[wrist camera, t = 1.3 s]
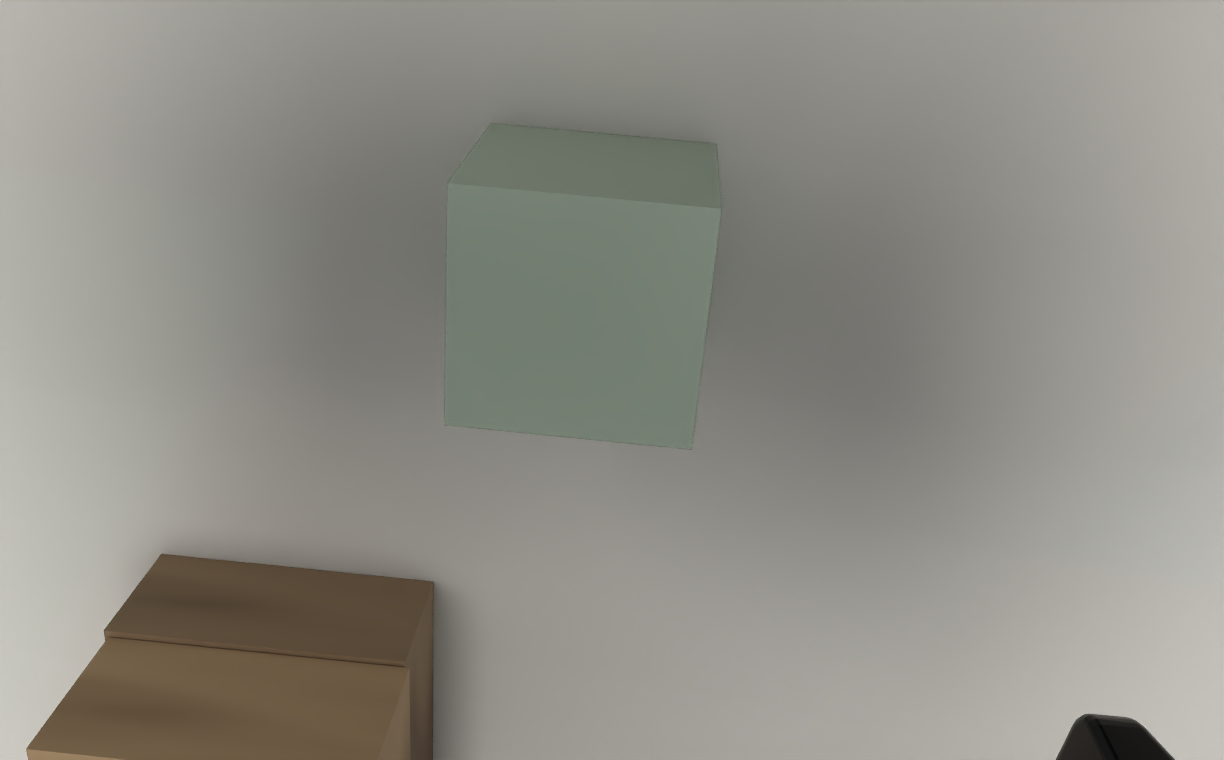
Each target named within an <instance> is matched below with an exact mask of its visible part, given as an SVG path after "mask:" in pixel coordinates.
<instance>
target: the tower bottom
mask: <svg viewBox="0 0 1224 760" xmlns="http://www.w3.org/2000/svg"><path fill="white" fill-rule="evenodd" d="M433 596H434V582H431V581H422V580H412V579H402V578H392V577H382V576H373V575H363V574H353V573H343V572H333V571H324V570H314V569H304V568H294V567H284V566H275V565H265V564H255V563H245V562H235V561H226V560H216V559H206V558H196V557H186V556H176V555H167V554H161V555H160V557H159V558H158V559H157V561H156V562H155V563H154V565H153V566H152V567H151V569H150V570H149V571H148V573H147V574H146V575H145V577H144V578H143V579H142V581H141V582H140V583H139V585H138V586H137V587H136V589H135V590H134V591H133V592H132V594H131V595H130V596H129V598H128V599H127V600H126V602H125V603H124V604H123V606H122V607H121V608H120V610H119V611H118V612H117V614H116V615H115V616H114V618H113V619H112V620H111V622H110V623H109V624H108V626H107V627H106V628H105V630H104V635H105V641H106V640H107V639H108V637H111V638H121V639H131V640H140V641H150V642H160V643H170V644H180V645H189V646H199V647H209V648H219V649H229V650H238V651H248V652H258V653H268V654H278V655H287V656H297V657H307V658H317V659H327V660H336V661H346V662H356V663H366V664H376V665H385V666H395V667H405V668H409V680H410V755H411V760H433Z"/></svg>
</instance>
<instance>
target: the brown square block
mask: <svg viewBox="0 0 1224 760" xmlns="http://www.w3.org/2000/svg"><path fill="white" fill-rule="evenodd" d="M26 751H27V756H28V760H411V755H410V680H409V668H405V667H395V666H385V665H376V664H366V663H356V662H346V661H336V660H327V659H317V658H307V657H297V656H287V655H278V654H268V653H258V652H248V651H238V650H229V649H219V648H209V647H199V646H189V645H180V644H170V643H160V642H150V641H140V640H131V639H121V638H111V637H108V639H107V640H106V641H105V643H104V644H103V645H102V647H101V648H100V649H99V651H98V652H97V654H96V655H95V656H94V658H93V659H92V660H91V662H90V663H89V664H88V666H87V667H86V668H85V670H84V671H83V673H82V674H81V675H80V677H79V678H78V679H77V681H76V682H75V683H74V685H73V686H72V687H71V689H70V690H69V692H68V693H67V694H66V696H65V697H64V698H63V700H62V701H61V702H60V704H59V705H58V706H57V708H56V709H55V711H54V712H53V713H52V715H51V716H50V717H49V719H48V720H47V721H46V723H45V724H44V725H43V727H42V728H41V730H40V731H39V732H38V734H37V735H36V736H35V738H34V739H33V740H32V742H31V743H30V744H29V746H28V747H27V749H26Z"/></svg>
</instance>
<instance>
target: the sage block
mask: <svg viewBox="0 0 1224 760" xmlns="http://www.w3.org/2000/svg"><path fill="white" fill-rule="evenodd" d="M721 210H722V207H721V194H720V182H719V169H718V156H717V144H712V143H701V142H690V141H679V140H669V139H658V138H647V137H636V136H625V135H614V134H604V133H593V132H582V131H571V130H560V129H550V128H539V127H528V126H517V125H506V124H495V123H491V124H490V126H489V127H488V128H487V130H486V131H485V132H484V134H483V135H482V136H481V138H480V139H479V141H478V142H477V143H476V145H475V146H474V147H473V149H472V150H471V151H470V153H469V154H468V155H467V157H466V158H465V160H464V161H463V162H462V164H461V165H460V166H459V168H458V169H457V170H456V172H455V173H454V174H453V176H452V177H451V179H450V180H449V181H448V183H447V235H446V317H445V399H444V425H448V426H458V427H468V428H478V429H488V430H498V431H508V432H518V433H529V434H539V435H549V436H559V437H569V438H579V439H589V440H599V441H609V442H619V443H629V444H639V445H649V446H659V447H669V448H679V449H689V450H692V444H693V436H694V428H695V419H696V411H697V403H698V395H699V387H700V379H701V371H702V363H703V355H704V347H705V339H706V331H707V323H708V315H709V307H710V299H711V291H712V283H713V275H714V267H715V259H716V250H717V242H718V234H719V226H720V218H721Z"/></svg>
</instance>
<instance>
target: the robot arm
mask: <svg viewBox="0 0 1224 760" xmlns="http://www.w3.org/2000/svg"><path fill="white" fill-rule="evenodd" d="M1056 760H1175V759H1174V758H1173V757H1172V756H1171V755H1170V754H1169V753H1168V752H1167V751H1166V750H1165V749H1164V747H1163V746H1162V745H1161V744H1160V743H1159V742H1158V741H1157V740H1156V739H1155V738H1154V737H1153V736H1152V735H1151V734H1150V732H1149V731H1148V730H1147V729H1146V728H1145V727H1144V726H1142V725H1141V724H1140V723H1138V722H1137V721H1135V720H1133V719H1131V718H1126V717H1119V716H1108V715H1097V714H1084V715H1082V716H1081V717H1079V718H1078V719H1076V721H1075V723H1074V724H1073V726H1072V728H1071V730H1070V732H1069V734H1068V736H1067V738H1066V740H1065V742H1064V744H1063V746H1062V748H1061V750H1060V752H1059V754H1058V756H1057V758H1056Z"/></svg>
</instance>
